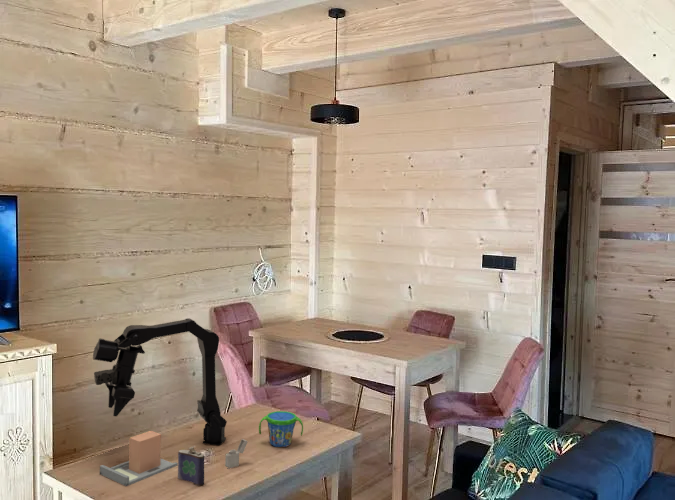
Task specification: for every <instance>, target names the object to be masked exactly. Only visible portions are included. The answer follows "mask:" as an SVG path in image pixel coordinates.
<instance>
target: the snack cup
mask: <svg viewBox="0 0 675 500" xmlns="http://www.w3.org/2000/svg"><path fill="white" fill-rule="evenodd" d="M265 420H266V422H267V429H268V438H269V443H270V444H271V446H273V447H276V448H278V447H279V448H281V447H285V448H286V447H288V446H290V445H291V443H292V439H293V435H294V429H295V426H296V422H297V421H298V422H299V424H300V425H301V432H300V436H302V435H303V433H304V423H303V421H302V420H301V418H300V417H298V416H297V415H296V414H295V413H294V412H290V411H284V410H282V411H281V410H277V411H271V412H269V413H268V414H266V416H263V417H262V418H261V419H260V421H259V424H258V433H259V435H262V423H263V421H265Z"/></svg>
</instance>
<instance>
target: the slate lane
mask: <svg viewBox="0 0 675 500" xmlns="http://www.w3.org/2000/svg"><path fill="white" fill-rule="evenodd" d="M175 467H178V462H171V461H168V460H166V459H164V458H161V464H160V466H158V467H155V468H153V469H150V470H147V471H145V472H142V473H140V474H138V473H136V472H134V471H132V470H129V460H127V461H124V462H121V463H119V464H117V465H113V466H111V467H108V466H106V465H105V464H101V465H99V475H101V476H103V477H105V478H108V479H109V480H111V481H114V482H116V483H118V484H120V485H123V486H124V487H128V486H131V485H133V484H136V483H137V482H138V483H139V482H141V481H143V480H145V479H148V478H150V477H153V476H155V475H158V474H160V473H162V472H165V471H167V470H169V469H172V468H175Z"/></svg>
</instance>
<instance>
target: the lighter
mask: <svg viewBox="0 0 675 500" xmlns="http://www.w3.org/2000/svg"><path fill="white" fill-rule="evenodd" d="M248 442H249V441H248V440H246V439H244V438H242V439H240V442H239V444H238V447H237V449H235V448H234V449H230V450H229V451H228V453H226V454H225V467H226V469H227V470H229V469H232V468H237V467H239V466H240V454H243V453H244V452H245V449H246V447H247V443H248Z"/></svg>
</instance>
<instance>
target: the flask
mask: <svg viewBox="0 0 675 500" xmlns="http://www.w3.org/2000/svg"><path fill="white" fill-rule="evenodd" d="M195 447H196V445H191V446H190V447H188V449H180V450H178V452H177V457H178V459H177V460H178V461H177V463H178V465H177V479H178V480H180V481H186V482H189V483H190V482H191V483H192V485H194V486H196V487H197V486H198V487H203V486H205V455H204V454H203V453H202V452H197V450H196V449H195Z"/></svg>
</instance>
